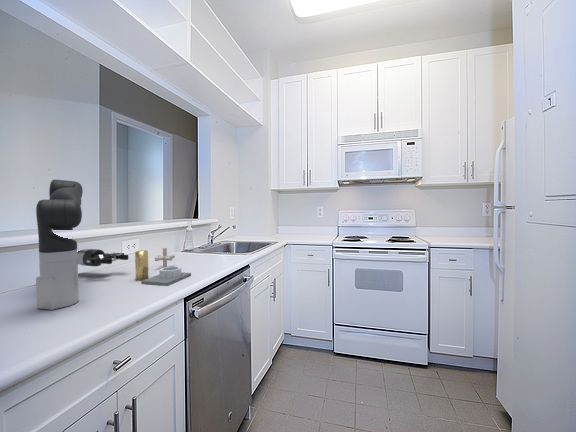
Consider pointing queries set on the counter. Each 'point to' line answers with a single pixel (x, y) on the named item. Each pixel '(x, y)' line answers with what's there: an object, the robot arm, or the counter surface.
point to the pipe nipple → (141, 265)
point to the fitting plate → (164, 280)
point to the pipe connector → (164, 257)
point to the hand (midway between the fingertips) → (119, 259)
